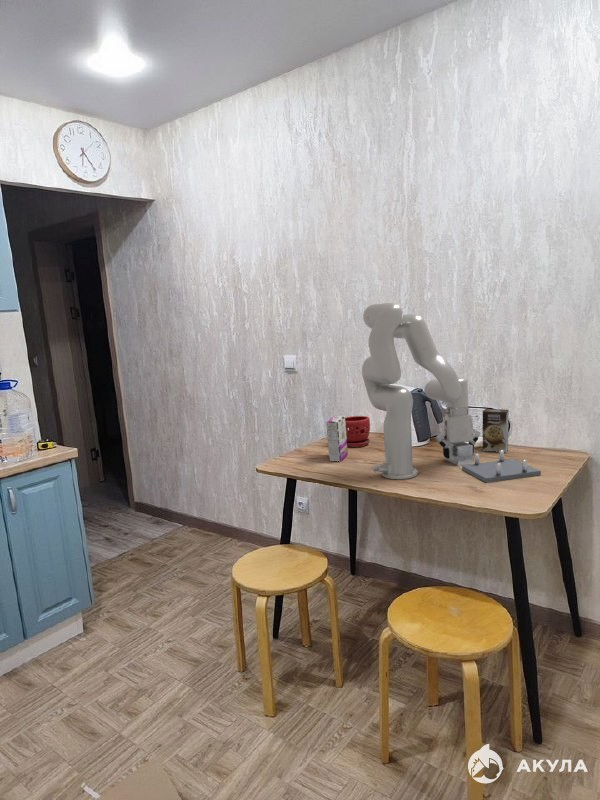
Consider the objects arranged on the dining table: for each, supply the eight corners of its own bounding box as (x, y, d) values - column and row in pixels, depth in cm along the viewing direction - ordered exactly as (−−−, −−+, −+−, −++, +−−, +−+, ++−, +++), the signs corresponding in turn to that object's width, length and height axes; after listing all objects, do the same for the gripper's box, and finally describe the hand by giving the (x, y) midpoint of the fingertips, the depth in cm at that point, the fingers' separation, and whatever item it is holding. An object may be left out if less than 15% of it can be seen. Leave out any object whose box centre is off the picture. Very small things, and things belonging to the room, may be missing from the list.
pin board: (486, 482, 178) (486, 478, 178) (462, 469, 194) (462, 465, 194) (540, 475, 182) (540, 470, 182) (512, 462, 198) (512, 458, 197)
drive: (458, 466, 199) (457, 447, 198) (445, 459, 208) (444, 441, 207) (473, 464, 200) (472, 445, 199) (459, 457, 210) (459, 439, 208)
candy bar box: (336, 454, 226) (334, 415, 223) (348, 454, 224) (345, 415, 222) (328, 462, 216) (325, 421, 213) (340, 462, 214) (338, 421, 211)
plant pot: (373, 441, 244) (371, 414, 242) (367, 448, 232) (366, 421, 230) (344, 441, 248) (343, 415, 246) (337, 448, 236) (336, 421, 234)
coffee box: (482, 451, 215) (481, 411, 213) (485, 447, 221) (484, 408, 218) (506, 452, 211) (506, 411, 208) (509, 448, 216) (508, 408, 214)
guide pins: (497, 476, 179) (497, 464, 179) (473, 464, 194) (473, 453, 193) (528, 472, 181) (528, 460, 181) (502, 460, 196) (502, 449, 195)
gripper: (440, 415, 196) (441, 461, 199) (484, 410, 199) (485, 455, 202) (431, 412, 203) (432, 456, 206) (473, 407, 206) (474, 451, 209)
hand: (458, 456), depth 204 cm, fingers open, 9 cm apart
